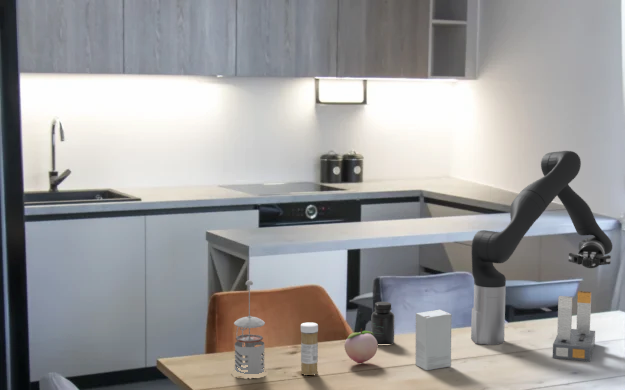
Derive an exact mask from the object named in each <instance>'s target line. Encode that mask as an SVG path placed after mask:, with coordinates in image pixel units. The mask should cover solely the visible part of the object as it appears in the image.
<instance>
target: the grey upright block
mask: <svg viewBox="0 0 625 390" xmlns="http://www.w3.org/2000/svg"><path fill="white" fill-rule="evenodd" d="M557 304H558V305H557V309H558V310H557V335H556V337H557V339H565V340H571V329H572V316H573V315H572V313H573V296H567V295H559V296H558V303H557Z"/></svg>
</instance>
